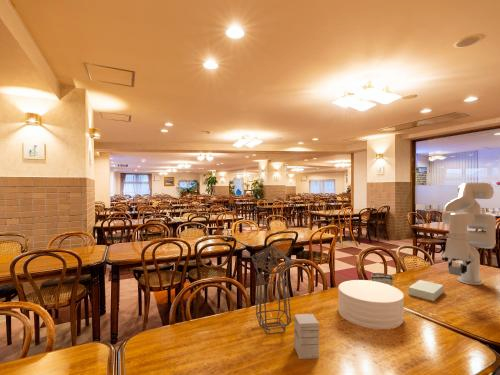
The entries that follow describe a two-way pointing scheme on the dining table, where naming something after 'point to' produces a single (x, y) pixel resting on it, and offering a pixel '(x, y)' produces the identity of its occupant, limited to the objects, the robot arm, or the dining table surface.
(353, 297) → the plate stack
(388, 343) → the dining table surface
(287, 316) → the geometric lantern
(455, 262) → the cover
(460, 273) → the housing base
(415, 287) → the stand
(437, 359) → the dining table surface
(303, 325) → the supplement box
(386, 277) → the food container
